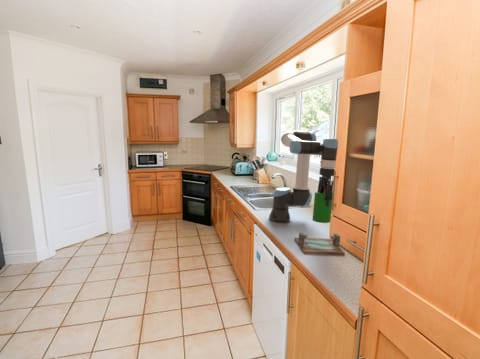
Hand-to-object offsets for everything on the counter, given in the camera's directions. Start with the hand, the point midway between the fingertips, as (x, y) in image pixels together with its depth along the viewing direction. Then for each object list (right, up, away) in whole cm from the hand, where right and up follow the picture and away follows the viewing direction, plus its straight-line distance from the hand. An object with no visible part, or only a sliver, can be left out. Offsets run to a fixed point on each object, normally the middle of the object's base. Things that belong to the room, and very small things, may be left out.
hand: (322, 209), depth 141 cm
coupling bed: (-1, -21, +4) cm, 22 cm away
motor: (0, -6, 0) cm, 6 cm away
